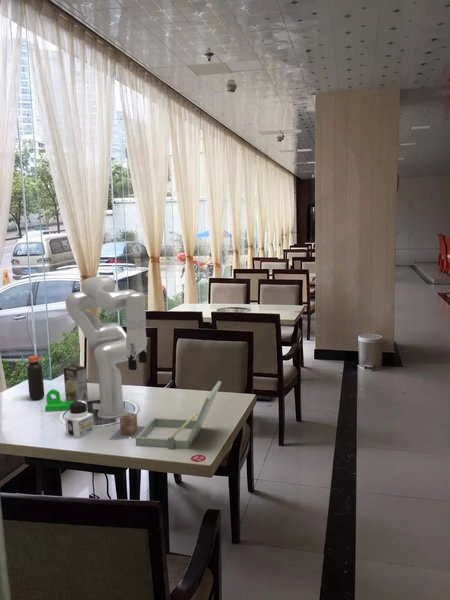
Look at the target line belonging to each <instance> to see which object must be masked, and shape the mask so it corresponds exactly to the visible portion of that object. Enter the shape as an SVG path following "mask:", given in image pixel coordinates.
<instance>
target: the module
mask: <svg viewBox="0 0 450 600" xmlns="http://www.w3.org/2000/svg"><path fill="white" fill-rule="evenodd" d="M137 414H138V413H134V412H127V413H124V414H123V415H122V416H121V417H119V424H120V426H119V427H120V428H119V429H121V435H127V436H133V435H134V434H135V433H136V432H137V431H138V428H137V426H138V417H137V416H138V415H137Z"/></svg>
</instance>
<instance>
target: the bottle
mask: <svg viewBox="0 0 450 600" xmlns="http://www.w3.org/2000/svg"><path fill="white" fill-rule="evenodd" d="M27 358H28V359H27V360H28V366H27V368H26V373H27V382H28V383H27V384H28V395H29V398H30V399H31V400H40V399H43V398H44V397H45V386H44V384H45V383H44V376H43V375H44V374H43V366H42V364H40V356H39V355H29V356H28V357H27Z"/></svg>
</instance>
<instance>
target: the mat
mask: <svg viewBox="0 0 450 600" xmlns="http://www.w3.org/2000/svg"><path fill="white" fill-rule="evenodd" d="M145 427H146V426H144V425H143V426H142V425H141V426H140V425H139V426H138V425H137V428H138V431H137V432H136V433H135V434H134V435H133V436H127V435H121V429H120V428H119V429H118V430H117V431H116V432H115V433H114V434H113V435H112V436H111V437H110V438H109V439H108V440H109V441H115V440H116V441H118V440H130V439H129V437H131V439H135V438H136V437H137V436H138V435H139V434H140V432H141V431H142V430H143V429H144V428H145ZM125 438H126V439H125Z"/></svg>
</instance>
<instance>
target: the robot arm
mask: <svg viewBox="0 0 450 600" xmlns="http://www.w3.org/2000/svg"><path fill="white" fill-rule="evenodd" d="M80 289H81V290H80V291H79V290H78V291H76V292H71V293H70V294H68V295H67V296H66V298H65V309H66V312H67V314H68V315H69V317H70V318H71V319H72V321H73V322H74V323H75V324H76V325H77V326H78V327H79V328H80V330H81V332H82V333H83V335H84V336H85V339H86V340H87V341H88V343H89V344H90V345H91V346H92V347H95V350H94V352H93V353H94V359H95V363H96V367H97V376H98V387H99V400H100V403H93V404H92V410H97V417H98V418H100V419H102V420H103V419H104V420H114V419H120V417H121V416H122V415H123V414H124V413H128V409H127V408H126V407H124V400H123V398H124V396H123V385H122V384H123V383H122V380H123V379H122V373H121V371H120V369H119V368H118V367H117V366H116V364H120V363H124V362H128V370H130V371H137V368H138V367H137V365H138V364H137V359H136V358H137V355H138V361H139V363H140V364H141V363H143V364H147V363H148V359H147V357H148V356H147V352H148V350H147V348H148V340H147V331H146V328H147V318H146V317H147V316H146V296H145V294H144V293H143V292H139V291H136V290H134V289H123V290H122V289H121V290H116V283H115V280H114V278H112V277H111V276H109V275H102V276H101V275H100V276H92V277H91V276H90V277H88V278H85V279H84V280H83V281H82V282H81V284H80ZM97 308H101V309H102V310H105V311H109V312H115V311H121V310H125V315H126V316H125V318H126V331H125V330H124V328H123V327H122V325H120V324H119V323H117V322H105V323H102V322H100V321H99V319H98V317H97V316H96V315H95V314H93V313H91V312H89V311H88V310H91V309H92V310H93V309H97Z"/></svg>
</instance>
